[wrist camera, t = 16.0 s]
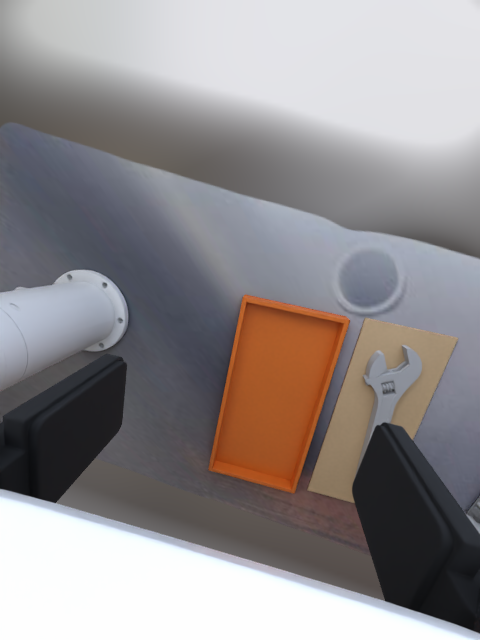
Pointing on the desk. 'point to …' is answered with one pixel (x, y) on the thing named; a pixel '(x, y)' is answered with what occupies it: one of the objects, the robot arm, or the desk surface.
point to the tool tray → (275, 390)
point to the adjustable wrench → (388, 387)
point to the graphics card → (475, 514)
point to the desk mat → (358, 398)
